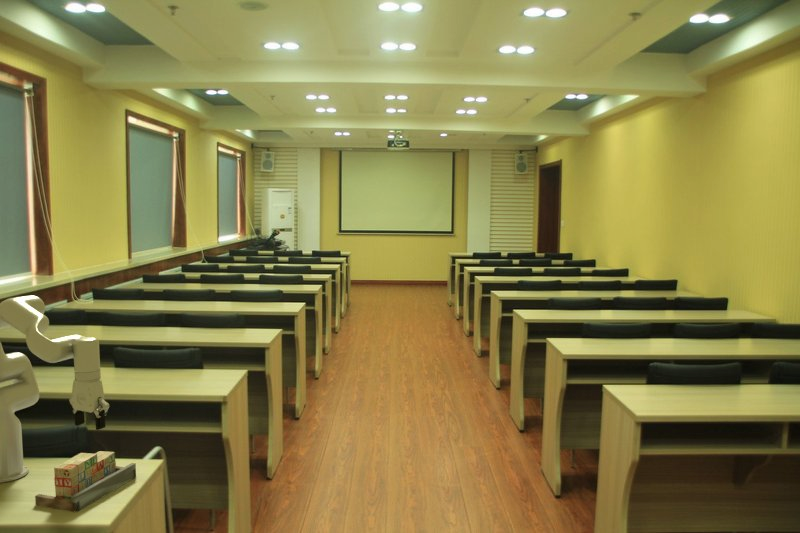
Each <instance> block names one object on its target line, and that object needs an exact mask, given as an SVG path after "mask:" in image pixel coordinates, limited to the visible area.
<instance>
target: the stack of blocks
mask: <svg viewBox="0 0 800 533" xmlns="http://www.w3.org/2000/svg"><path fill="white" fill-rule="evenodd" d="M116 462H117V461H116V452H114V451H102V450H100V451H97V452H95V453H88V452H80V453H77V454H76V455H74V456H72V457H71V458H69V459H68V460H66V461H63V462H62V463H60V464H58V465H57V466H54V468H53V471H54V472H53V473H54V478H53V479H54V488H55V489H54V490H55V492H54V493H55V497H60V498H65V499H71V500H72V496H73V495H74V494H76V493H78V492H80V491H82V490H84V489H85V488H87V487H89V486H91V485H93V484H94V483H96V482H98V481H100V480H102V479H104V478H105V477H107V476H109V475H111V474H113V473H115V472H116V466H117V464H116Z"/></svg>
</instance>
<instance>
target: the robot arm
mask: <svg viewBox="0 0 800 533" xmlns="http://www.w3.org/2000/svg"><path fill="white" fill-rule="evenodd" d="M45 312H46V305H45V302H44V301H43V299H42V298H41V297H39V296H36V295H32V294H31V295H30V294H29V295H23V296H16V297H9V298H7V299H5V300H3V301H1V302H0V330H2V329H9V328H14V329H15V330H17V331H18V332H20V333H21V334H23V335H25V342H26V346H27V348H28V349H29V351H30V352H31V354H33V355H35V356H36V357H37V358H39V359H41V360H42V361H44V362H46V363H50V364H51V363H52V364H55V363H58V362H63V361H67V360H69V359H73V365H74V366H73V368H74V379H73V382H72V388H71V390H72V391H71V397H70V398H69V400H68V401H69V404H70V408H71V409H72V413H73V414H74V425H75V426H80V425H82V424H85V422H86V421H85V412H86V413H94V414H95V416H96V417H95V418H94V419H95V430H96V431H98V430H101V429H104V428H106V416H107V414H108V413H109V408H110V404H109V402H107V401H106V400H105V394H104V393H105V392H104V386H103V380H102V378H101V377H102V376H101V360H100V359H101V358H100V357H101V354H100V341H99V339H98V338H97V337H94V336H93V337H92V336H87V337H86V336H84V335H80V334H71V335H66V336H60V337H57V338H53V339H50V338H48V337H46V336H45V335H44V333H45V332H46V331H47V330H48V328H49V325H50V320H49V318H48V316H46V314H45ZM11 381H12V384H7V385H4V386H0V483H7V482H12V481H15V480H17V479H21V478H23V477H24V476H26V475H28V473H29V471H30V468H29V466H27V465H24V452H23V450H24V449H23V434H22V433H23V432H22V423H21V421H20V419H19V417H17V416H16V415H15V412H17V411H20V410H23V409H26V408H29V407H31V406H34V405H35V404H36V403H38V401H39V399H40V389H39V385H38V382H37V379H36V375H35V372H34V369H33V366H32V363H31V361H30V359H29V358H28V356H27V355H26V354H24V353H22V352H18V351H15V352H10V353H5V351H4V348H3V345H2V342H1V341H0V384H2V383H6V382H11Z"/></svg>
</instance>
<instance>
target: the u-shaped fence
mask: <svg viewBox="0 0 800 533" xmlns="http://www.w3.org/2000/svg"><path fill="white" fill-rule="evenodd" d="M135 477H136V478H137V467H136V463H135V462H130V463H129V464H127V465H126V466H118V465H116V472H115V473H113V474H111V475H109V476H107V477H105V478H104V479H102V480H100V481H98V482H96V483H94V484H93V485H91V486H89V487H87V488H85V489H84V490H82V491H80V492H78V493H76V494H74V495H73V496H72V500H71V499H65V498H60V497H56V496H53V495H47V494H42V493H38V494H35V496H34V498H35V499H34V500H35V506H38V507H45V508H50V509H56V510H61V511H67V512H73V513H78V512H79V511H81V510H83V509H84V508H86V507H88V506H90V505H92V504H93V503H95V502H96V501H98V500H100V499H101V498H103V497H104V496H107V495H109V494H110V493H111V492H113V491H115V490H117V489H118V488H120V487H122V486H124V485H125V484H127V483H129V482H131V481H133V480H134V479H136V478H135ZM130 480H131V481H130ZM123 484H124V485H123Z"/></svg>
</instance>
